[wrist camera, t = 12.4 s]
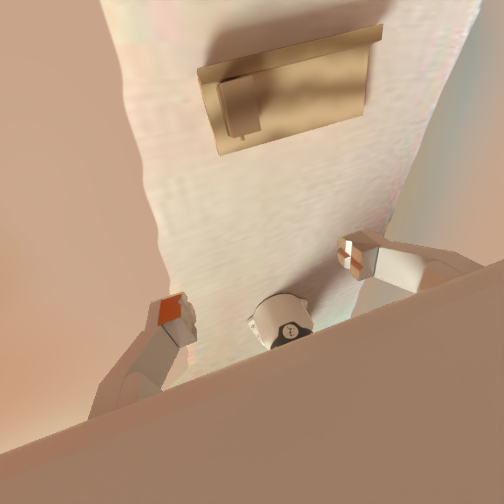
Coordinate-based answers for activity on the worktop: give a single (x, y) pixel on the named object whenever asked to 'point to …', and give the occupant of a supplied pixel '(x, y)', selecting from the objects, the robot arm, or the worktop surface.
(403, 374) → the robot arm
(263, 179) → the worktop surface
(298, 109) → the board
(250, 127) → the brown block
